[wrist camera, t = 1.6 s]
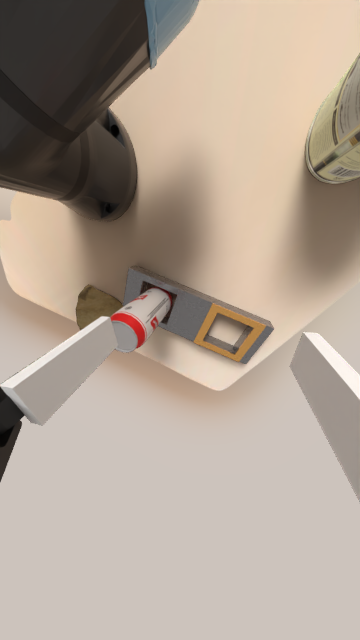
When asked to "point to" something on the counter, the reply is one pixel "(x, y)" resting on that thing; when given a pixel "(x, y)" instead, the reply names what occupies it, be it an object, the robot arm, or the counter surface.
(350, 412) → the robot arm
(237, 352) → the grey slotted tray
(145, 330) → the beer can
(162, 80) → the counter surface
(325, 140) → the coffee can
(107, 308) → the rock
